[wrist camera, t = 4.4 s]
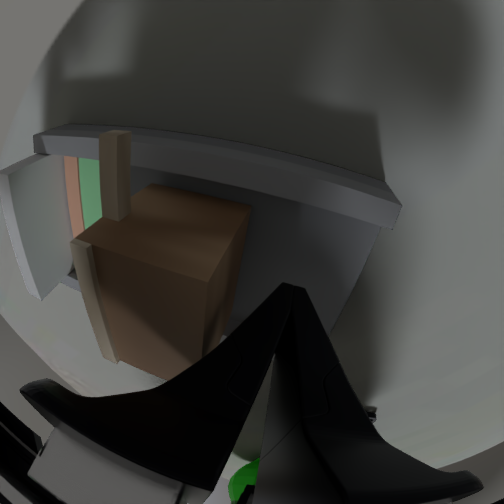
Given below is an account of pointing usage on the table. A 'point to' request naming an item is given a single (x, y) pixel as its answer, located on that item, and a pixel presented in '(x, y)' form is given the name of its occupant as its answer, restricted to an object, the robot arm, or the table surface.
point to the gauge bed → (213, 184)
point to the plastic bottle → (243, 480)
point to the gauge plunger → (157, 267)
